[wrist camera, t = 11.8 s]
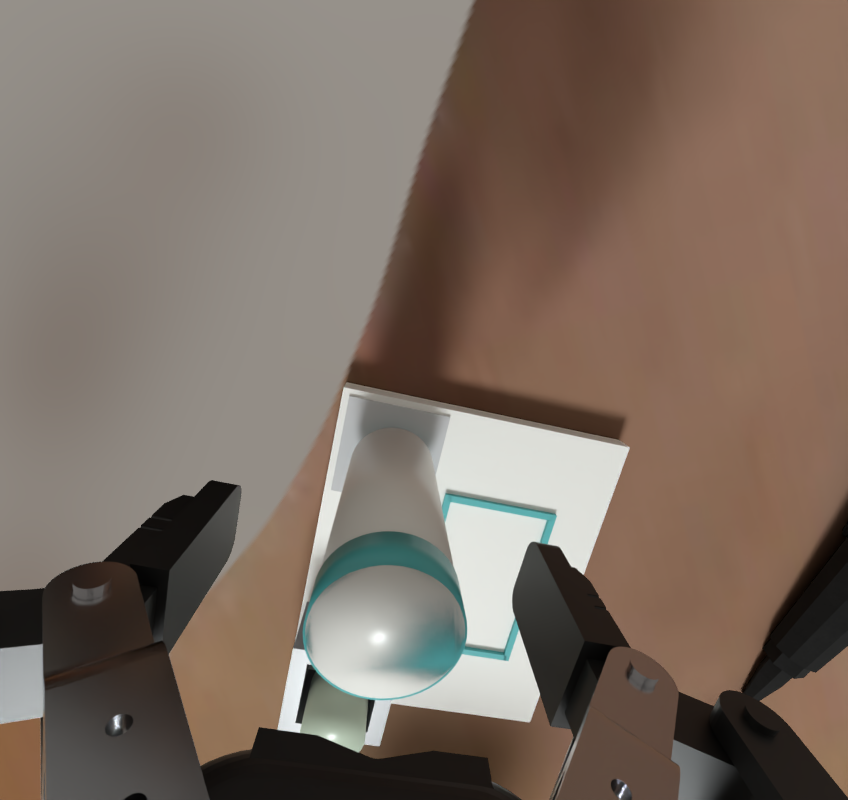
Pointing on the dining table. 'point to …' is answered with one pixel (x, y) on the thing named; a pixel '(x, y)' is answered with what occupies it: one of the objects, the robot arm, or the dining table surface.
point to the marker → (387, 578)
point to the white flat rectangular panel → (485, 524)
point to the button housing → (300, 688)
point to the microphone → (808, 629)
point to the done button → (335, 715)
